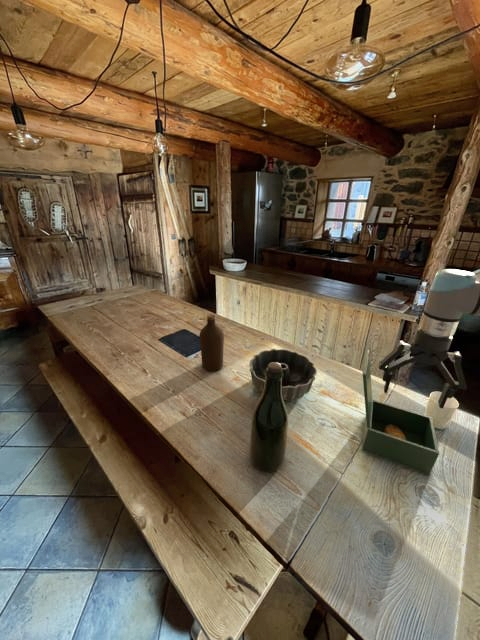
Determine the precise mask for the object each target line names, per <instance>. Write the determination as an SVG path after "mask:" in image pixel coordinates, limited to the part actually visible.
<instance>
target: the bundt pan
mask: <svg viewBox="0 0 480 640" xmlns="http://www.w3.org/2000/svg"><path fill="white" fill-rule="evenodd" d="M271 362H277V363H279V364H281V367H282V370H283V377H282V398H283V401H288V402H292V401H293V400H299V399H302V398H303V397H304V396H305V395H307V394H308V393H309V392H310V391H311V388H312V385H313V383H314V381H316V375H317V373H318V370H317V367H315V363H314V362H313V361H311V360H310V359H309V357H307V356H306V355H303V354H300V353H299V352H297V351H292V350H289V349H284V348H278V349H277V348H271V349H267V350H262V351H260V352H258V353H257V354H254V355H253V356H252V358H251V359H250V360H249V367H250V368H249V371H250V375H251V382H252V385H253V386H254V387H255V388H256V390H257V391H258V392H259V393H260V394H262V393H263V390H264V385H265V376H266V375H265V371H266V368H267V367H268V364H269V363H271Z"/></svg>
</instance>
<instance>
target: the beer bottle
mask: <svg viewBox="0 0 480 640" xmlns="http://www.w3.org/2000/svg"><path fill="white" fill-rule="evenodd" d="M265 375H266V376H265V385H264V390H263V393H261V396H260V397H259V399H258V401H257V403H256V405H255V406H254V409H253V412H252V417H251V426H250V438H249V459H250V462H251V463H252V464H253V466H254V467H255V468H257V469H258V470H260V471H263V472H268V473H269V472H275V471H277V470H279V469H280V468H281V467H282V466H283V465H284V463H285V458H286V451H287V444H288V443H287V442H288V432H289V414H288V413H289V412H288V410H287V407H286V403H285V400H283V398H282V377H283V370H282V367H281V364H279V363H277V362H271V363H269V364H268V367H267V368H266V371H265Z"/></svg>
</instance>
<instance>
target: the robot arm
mask: <svg viewBox="0 0 480 640" xmlns="http://www.w3.org/2000/svg"><path fill="white" fill-rule="evenodd" d="M463 314H466V315H470V316H477V317H480V269H477V270H474V271H467V270H461V269H456V268H443V269H440V270H439V271H437V272H436V273H435V276H434V279H433V281H432V284H431V285H430V288H429V291H428V295H427V298H426V302H425V305H424V308H423V311H422V314H421V317H420V321H419V324H418V328H417V329H416V333H415V336H414V338H413V341H412V343H411V344H410V343H406V342H405V341H404V340H399V341H398V343H397V346H395V347H394V349H393V350H392V351H390V352H389V353H388V354H387V355H386V356H385V357H384V358H383V359H381V360H380V361H379V362H378V369H379V370H381V371H383V375H382V382H385V383H384V385H383V393H384V394H388V391H389V388H390V384H391V380H392V377H393V372H394V371H397V370H399V369H401V368H403V367H405V366H407V365H409V364H412V363H415V362H417V364H422V365H423V364H425V365H427V366H431V367H432V366H436V367H437V369H438V370H439V371H440V373H441V375H442V376H443V377H444V379H445V380H446V382H445V384H444V386H443V388H442V391H441V392H442V393H441V396H440V398H439V401H438V403H439V407H440V408H442V409H443V407H444V405H445V403H446V400H447V398H452V397H453V398H454V395H455V393H456V392H458V391H459V389H460V390H463V391H465V390H467V389H468V386H467V383H466V380H465V376H464V372H463V367H462V360H463V356H462V354H461V353H460V351H457V350H456V351H454V352H449V349H450V347H451V344H452V341H453V339H454V337H453V336H454V335H455V334H456V331H457V328H458V325H459V323H460V321H461V318H462V316H463ZM407 350H409V352H408V353H407V354H406V355H404V356H402V357H400V358H398V357H399V356H400V355H401V354H402V353H403V352H406V351H407ZM448 358H449V361H451V362H452V363H453V366H454V370H455V373H456V377H457V381H456V380H455V379H454V378H453V377H452V374H451V373H450V372H449V370H448V369H447V367H446V365H445V363H443V361H445V360H446V359H448Z"/></svg>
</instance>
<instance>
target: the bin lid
mask: <svg viewBox="0 0 480 640" xmlns="http://www.w3.org/2000/svg"><path fill="white" fill-rule="evenodd" d="M362 383H363V396H364V408H365V409H364V410H365V417H366V422H367V428H370V421H371V408H372V400H373V388H372V386H373V385H372V374H371V358H370V349H367V348H366V350H365V354H364V362H363V369H362Z"/></svg>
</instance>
